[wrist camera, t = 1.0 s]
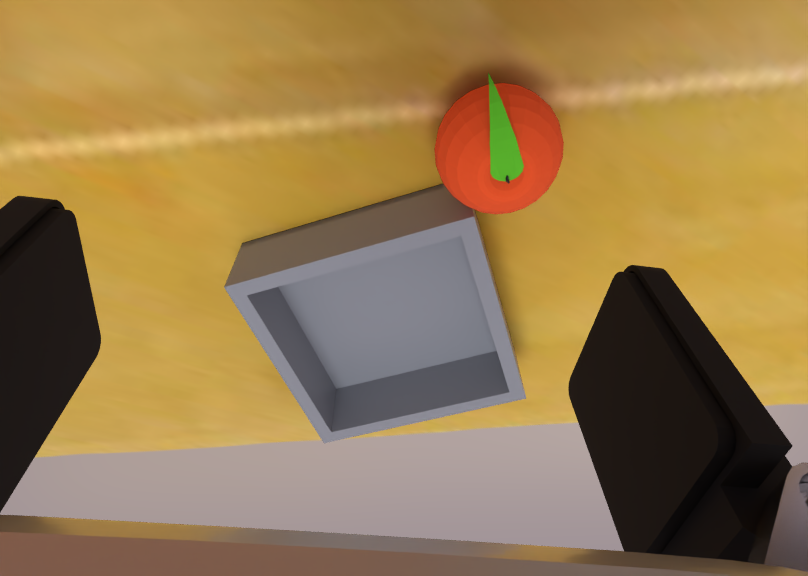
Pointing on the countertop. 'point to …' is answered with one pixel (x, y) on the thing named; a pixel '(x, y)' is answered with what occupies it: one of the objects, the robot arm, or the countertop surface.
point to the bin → (380, 314)
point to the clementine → (499, 148)
